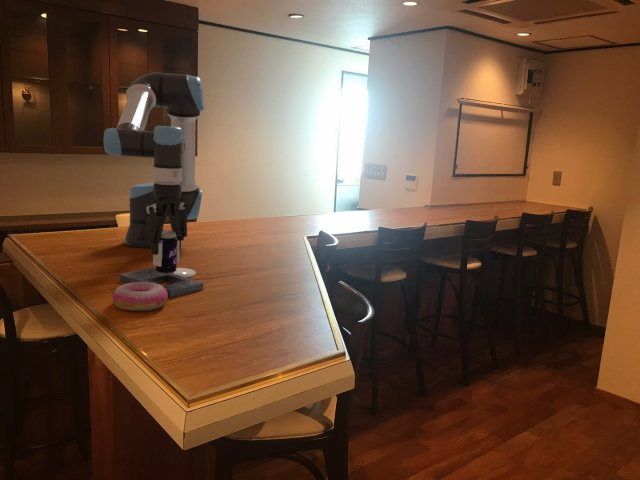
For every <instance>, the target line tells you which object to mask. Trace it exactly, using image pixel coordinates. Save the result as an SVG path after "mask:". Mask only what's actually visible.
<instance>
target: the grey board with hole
mask: <svg viewBox="0 0 640 480" xmlns="http://www.w3.org/2000/svg"><path fill="white" fill-rule="evenodd" d="M119 281H120V282H122V283H125V284H128V283H134V282H152V283H157V284H161V285H162V283H166V282H169V283H170V284H165V285H162V286H163V287H164V288H165V289H166V291H167V293H168V298H167V299H173V298H176V297H181V296H184V295H188V294H190V293H191V294H192V293H195V292H199V291H203V290H204V282H201V281H198V280H195V279H192V278H190V277H188V278H186V277H182V276H179V275H176V274H171V275H161V274H159V273H158V272H157V271H156V267H149V268H146V269H140V270H136V271H130V272H126V273H121V274H119Z"/></svg>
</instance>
